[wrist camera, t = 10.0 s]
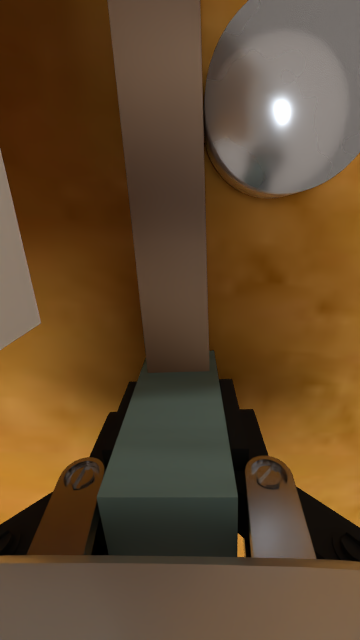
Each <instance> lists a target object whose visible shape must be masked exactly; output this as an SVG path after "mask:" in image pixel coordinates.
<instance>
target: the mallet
mask: <svg viewBox="0 0 360 640" xmlns="http://www.w3.org/2000/svg"><path fill="white" fill-rule="evenodd" d="M107 1H108V10H109V19H110V29H111V38H112V47H113V56H114V66H115V75H116V84H117V93H118V103H119V112H120V121H121V130H122V139H123V149H124V158H125V167H126V176H127V186H128V195H129V204H130V213H131V223H132V232H133V241H134V250H135V260H136V269H137V278H138V287H139V297H140V306H141V315H142V324H143V334H144V343H145V352H146V358H145V361H144V364H143V367H142V369H141V372H140V375H139V378H138V381H137V384H136V386H135V389H134V392H133V395H132V398H131V401H130V403H129V406H128V409H127V412H126V415H125V418H124V421H123V423H122V426H121V429H120V432H119V435H118V438H117V440H116V443H115V446H114V449H113V452H112V455H111V457H110V460H109V463H108V466H107V469H106V472H105V475H104V477H103V480H102V483H101V486H100V489H99V492H98V494H97V497H96V498H97V502H98V507H99V512H100V516H101V521H102V526H103V530H104V535H105V540H106V545H107V549H108V554H109V555H116V556H198V557H237V534H238V494H237V488H236V482H235V476H234V469H233V463H232V457H231V451H230V445H229V439H228V433H227V427H226V421H225V415H224V408H223V402H222V396H221V390H220V384H219V378H218V372H217V366H216V360H215V354H214V351H209V331H208V291H207V252H206V212H205V172H204V133H203V93H202V54H201V14H200V0H107Z"/></svg>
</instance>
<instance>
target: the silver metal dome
mask: <svg viewBox="0 0 360 640" xmlns="http://www.w3.org/2000/svg"><path fill="white" fill-rule="evenodd" d="M203 133H204V140H205V145H206V149H207V152H208V154H209V157H210V159H211V161H212V163H213V165H214V167H215V169H216V170H217V171H218V173H219V174H220V175H221V177H222V178H223V179H224V180H225V181H226V182H227V183H228V184H230V185H231V186H232V187H233V188H235V189H237V190H238V191H240V192H242V193H244V194H247V195H249V196H253V197H257V198H279V197H284V196H288V195H291V194H294V193H298V192H301V191H304V190H307V189H310V188H313V187H316V186H318V185H320V184H322V183H324V182H326V181H328V180H329V179H331V178H332V177H334V176H335V175H337V174H338V173H339V172H340V171H342V170H343V169H344V168H345V167H346V166H347V165H348V164H349V163H350V162H351V161H352V160H354V158H355V157H356V156H357V155H358V153H359V152H360V0H249V1H248V2H247V3H246V4H245V5H244V6H243V7H242V8H241V9H240V10H239V11H238V12H237V13H236V15H235V16H234V17H233V19H232V20H231V21H230V22H229V24H228V25H227V27H226V29H225V30H224V32H223V34H222V35H221V37H220V39H219V42H218V44H217V46H216V48H215V50H214V53H213V56H212V59H211V62H210V66H209V70H208V75H207V80H206V89H205V99H204V109H203Z"/></svg>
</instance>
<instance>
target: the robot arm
mask: <svg viewBox="0 0 360 640" xmlns="http://www.w3.org/2000/svg"><path fill="white" fill-rule="evenodd" d="M136 384H137V382H129V384H128V386H127V389H126V391H125V394H124V396H123V399H122V401H121V404H120V406H119V409H118V411H117V412H110V413H109V414H108V416H107V418H106V421H105V423H104V425H103V427H102V430H101V432H100V434H99V436H98V439H97V441H96V443H95V445H94V448H93V450H92V452H91V454H90V457H87V458H82V459H79V460H77V461H74V462H73V463H71V464H70V465H68V466H67V467H66V468H65V469H64V470H63V472H62V473H61V475H60V477H59V479H58V482H57V484H56V486H55V489H54V491H53V492H51V493H50V494H48V495H47V496H45V497H43V498H42V499H40V500H39V501H37V502H36V503H34V504H32V505H31V506H29V507H28V508H26V509H24V510H23V511H21V512H20V513H18V514H17V515H15V516H13V517H12V518H10V519H9V520H7V521H5V522H4V523H2V524H1V525H0V640H360V528H359V527H358V526H356V525H355V524H353V523H352V522H350V521H349V520H347V519H345V518H344V517H342V516H341V515H339V514H338V513H336V512H335V511H333V510H332V509H330V508H329V507H327V506H325V505H324V504H322V503H321V502H319V501H318V500H316V499H315V498H313V497H312V496H310V495H308V494H307V493H305V492H304V491H302V490H301V489H299V488H298V487H296V485H295V482H294V478H293V475H292V473H291V471H290V469H289V468H288V467H287V466H286V464H284V463H283V462H282V461H280V460H279V459H276V458H274V457H270V456H268V453H267V450H266V447H265V444H264V441H263V438H262V434H261V431H260V428H259V425H258V422H257V419H256V416H255V413H254V410H253V409H240V410H239V405H238V401H237V397H236V393H235V389H234V385H233V381H232V379H219V384H220V390H221V396H222V402H223V408H224V415H225V421H226V427H227V433H228V439H229V445H230V451H231V457H232V463H233V469H234V476H235V482H236V488H237V494H238V533H239V534H240V535H241V536H242V537H243V538H244V539H243V543H244V557H198V556H116V555H109V554H108V549H107V545H106V540H105V535H104V530H103V526H102V521H101V516H100V512H99V507H98V502H97V498H96V497H97V494H98V492H99V489H100V486H101V483H102V480H103V477H104V475H105V472H106V469H107V466H108V463H109V460H110V457H111V455H112V452H113V449H114V446H115V443H116V440H117V438H118V435H119V432H120V429H121V426H122V423H123V421H124V418H125V415H126V412H127V409H128V406H129V403H130V401H131V398H132V395H133V392H134V389H135V386H136Z"/></svg>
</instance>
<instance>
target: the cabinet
mask: <svg viewBox="0 0 360 640" xmlns="http://www.w3.org/2000/svg"><path fill="white" fill-rule="evenodd" d="M39 324H41V320H40V316H39V312H38V307H37V303H36V299H35V295H34V290H33V286H32V282H31V278H30V273H29V269H28V265H27V261H26V256H25V252H24V248H23V243H22V239H21V235H20V231H19V226H18V222H17V218H16V214H15V209H14V205H13V201H12V196H11V192H10V188H9V184H8V179H7V175H6V171H5V167H4V162H3V158H2V154H1V150H0V350H1V349H3V348H4V347H6V346H7V345H9V344H10V343H12V342H13V341H15V340H16V339H18V338H19V337H21V336H22V335H24V334H25V333H27V332H28V331H30V330H31V329H33V328H34V327H36V326H38V325H39Z"/></svg>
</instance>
